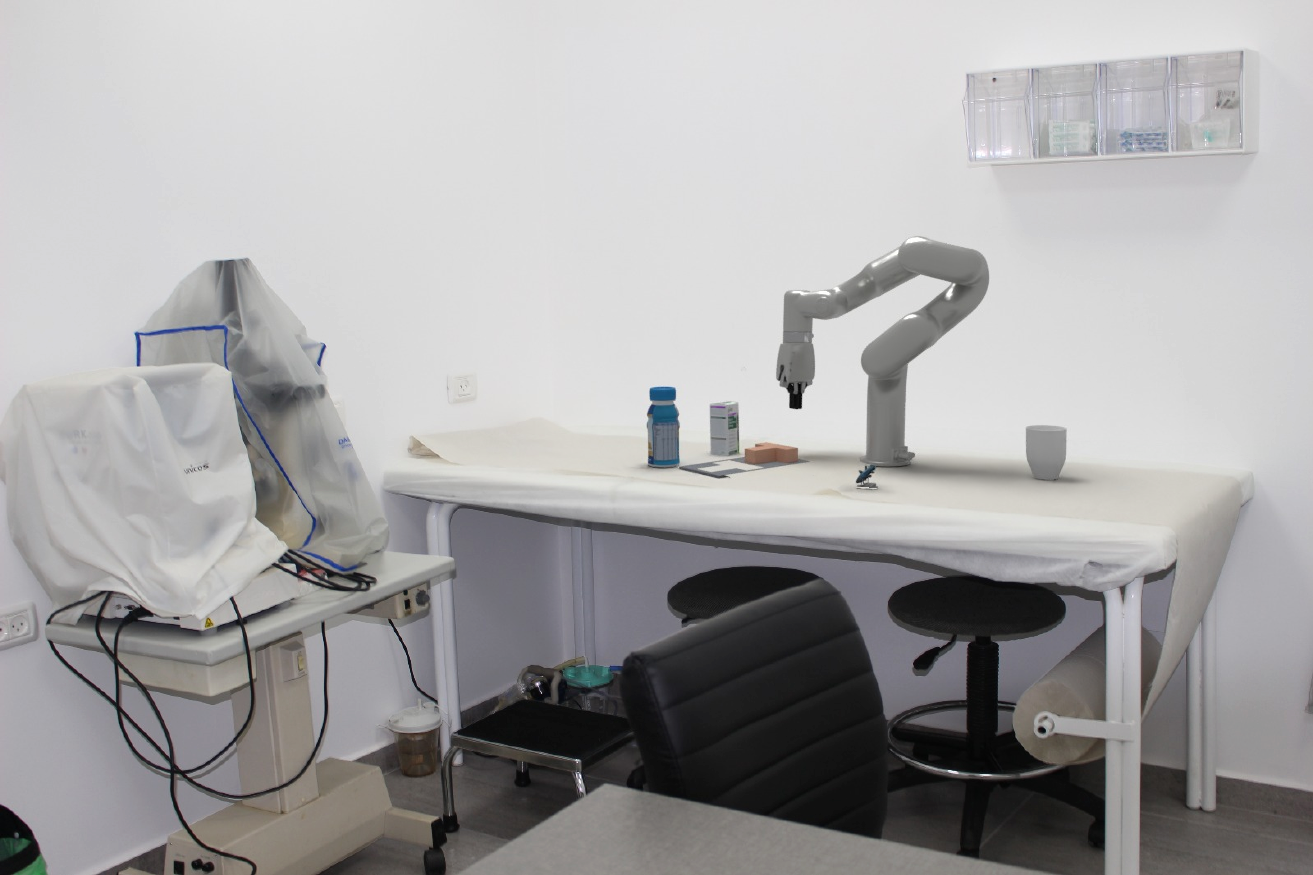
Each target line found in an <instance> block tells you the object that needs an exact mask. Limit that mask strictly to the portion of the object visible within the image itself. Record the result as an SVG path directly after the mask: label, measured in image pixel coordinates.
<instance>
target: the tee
mask: <svg viewBox="0 0 1313 875" xmlns="http://www.w3.org/2000/svg"><path fill="white" fill-rule="evenodd" d="M744 457H745V462H746V463H751V464H760V463H767V462H773V461H778V462H783V463H791V462H797V461H798V459H799V447H795V446H790V445H783V444H778V443H773V442H767V441H766V442H760V443H758V442H757V443H754V447H747V448H744Z"/></svg>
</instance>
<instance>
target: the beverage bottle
mask: <svg viewBox="0 0 1313 875" xmlns="http://www.w3.org/2000/svg"><path fill="white" fill-rule="evenodd" d="M676 399H677V389H676V387H674V386H654V387H650V388H649V400H650V402H651V404H650V406H648V409H647V413H646V416H647V418H648V419H647V422H646V429H647V450H648V452H647V464H648V466H649V467H652V468H657V467H669V468H674V467H675V468H676V467H679V465H680V460H681V459H680V427H681V426H680V425H681V423H680V420H679V416H680V413H679V412H680V411H679V409H678V408H677V405H676V404H675V403H674V402H675V401H676Z"/></svg>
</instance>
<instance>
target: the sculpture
mask: <svg viewBox="0 0 1313 875" xmlns="http://www.w3.org/2000/svg"><path fill="white" fill-rule="evenodd" d="M876 467H877V466H875V465H873V464H869V466H867V465H865V466H864V470H861V469H859V470H858V472H859V475H858V477H856V480H855V483H856V484H857V486H856V487H869V488H878V486H877V482H874V481H873V482H870V481H869V478H872V474H875V471H876V469H877V468H876ZM878 489H879V488H878Z"/></svg>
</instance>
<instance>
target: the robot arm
mask: <svg viewBox="0 0 1313 875" xmlns="http://www.w3.org/2000/svg"><path fill="white" fill-rule="evenodd" d="M918 276H925V277H929V278H933V279H937V280H941V281H944V282H949V283H950V285H948V287H946V288H945V289H944V290H942V291H941V292H940V293H939V294H937V295H936V296H935V297H934V298H933V299H932V300H930V301H929V302H928V303H927V304H925V305H924V306H922V308H921V307H920V309H918V310H916V311H913V312H910V313H908V314H906V315H904V316H903V317H902V318H900V319H898V320H897V321H896V322H894V324H892V325H891V326H890V327H888V329H886V330H884V331H883V332H882V333H881V334H880V335H879V336H878V337H876V338H875V339H874V340H872V341H871V342H870V343H869V344H868V345H866V347H865V348H864V349H863V350H862V353H861V357H860V364H861V365H860V366H861V368H862V370H863V372H864V374H866V375H867V376H868V378H867V390H866V391H867V393H866V438H865V439H866V442H865V444H866V445H865V449H866V451H865V455H861V456H860V457H859V462H861V463H863V464H869V465H871V464H873V465H875V466H876V467H903V466H908V465H910V464H911V461H912V460H913V459H914V458H915V457H916V453H915V452H914V451H909V447H908V446H907V445H905V443H906V442H905V440H906V439H905V438H906V437H905V436H906V403H907V402H906V400H907V398H906V397H907V379H908V377H907V376H908V368H909V363H911V362H912V361H913V360H915V359H916V358H918V356H920V355H921V354H923V353H924V352H925V351H927V349H931V347H933V346H935V344H937V342H938V341H939V340H940V339H941V338H942V337H944V336H945V335H946V334H948V333H949V332H950V331H951V330H953V329H954V328H955V327H956V326H957V325H958V324H960V323H961V322H962V321H963V320H965V319H966V318H967V317H968V316H970V315H971V314H972V313H973V312H974V311H975V310H976V309H978V306H980V304H981V303H982V302H983V299H985V296H986V294H987V292H988V288H989V286H990V285H989V284H990V270H989V265H988V261H987V259H986V257H985V256H984V255H983V254H982V253H981V252H980V251H979V250H976V249H973V248H969V247H964V246H959V245H955V244H951V243H948V242H942V241H938V240H934V239H930V238H929V237H926V236H921V235H914V236H911V237H908V238H907V239H905V240H904V241H903V242H902V243H901V245H900V246H898V247H896V248H895V249H893V250H891V251H888V252H887V253H885V254H883V255H882V256H880V257H877V258H876V259H874V260H872V261H870V262H869V263H867V264H866V265H865V266H864V268H862V269H861V271H860V272H859V273H857V274H855V276H853V277H851V278H850V279H848V280H846V281H844V282H842V283H840V284H839V285H837V286H834V287H833V288H829V289H823V290H822V289H821V290H813V291H810V290H804V289H802V290H801V289H793V290H787V291H785V293H784V295H783V315H782V316H783V320H782V325H783V326H782V329H783V330H782V343H780V344H779V347H778V348H779V349H778V353H777V359H776V367H775V368H776V369H775V370H776V371H775V372H776V373H775V378H776V381H778V382H779V383H778V384H779V387H781V388H785V389H786V391H787V394H789V395H788V397H789V399H788V400H789V402H788V404H789V405H788V407H789V409H792V410H802V409H803V394H805V392H806V389H807V387H809V386H810V387H811V385H813V380H814V378H815V376H816V375H815V374H816V357H815V348H814V343H813V338H814V333H813V324H814V323H813V322H814V321H813V319H816V320H824V321H825V320H826V321H827V320H828V321H829V320H832V319H837V318H840V317H841V316H842V317H843V316H845V315H846V314H848V313H850V312H852V311H853V310H855V309H857V308H859V307H861V306H862V305H865V304H867V303H869V302H870V301H872V300H874V299H876V298H879V297H881V296H883V295H884V294H887V293H888V292H890V291H892V290H894V289H895V288H897V287H899V286H901V285H902V284H905V283H907V282H909V281H910V280H913V279H915V278H917V277H918Z"/></svg>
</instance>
